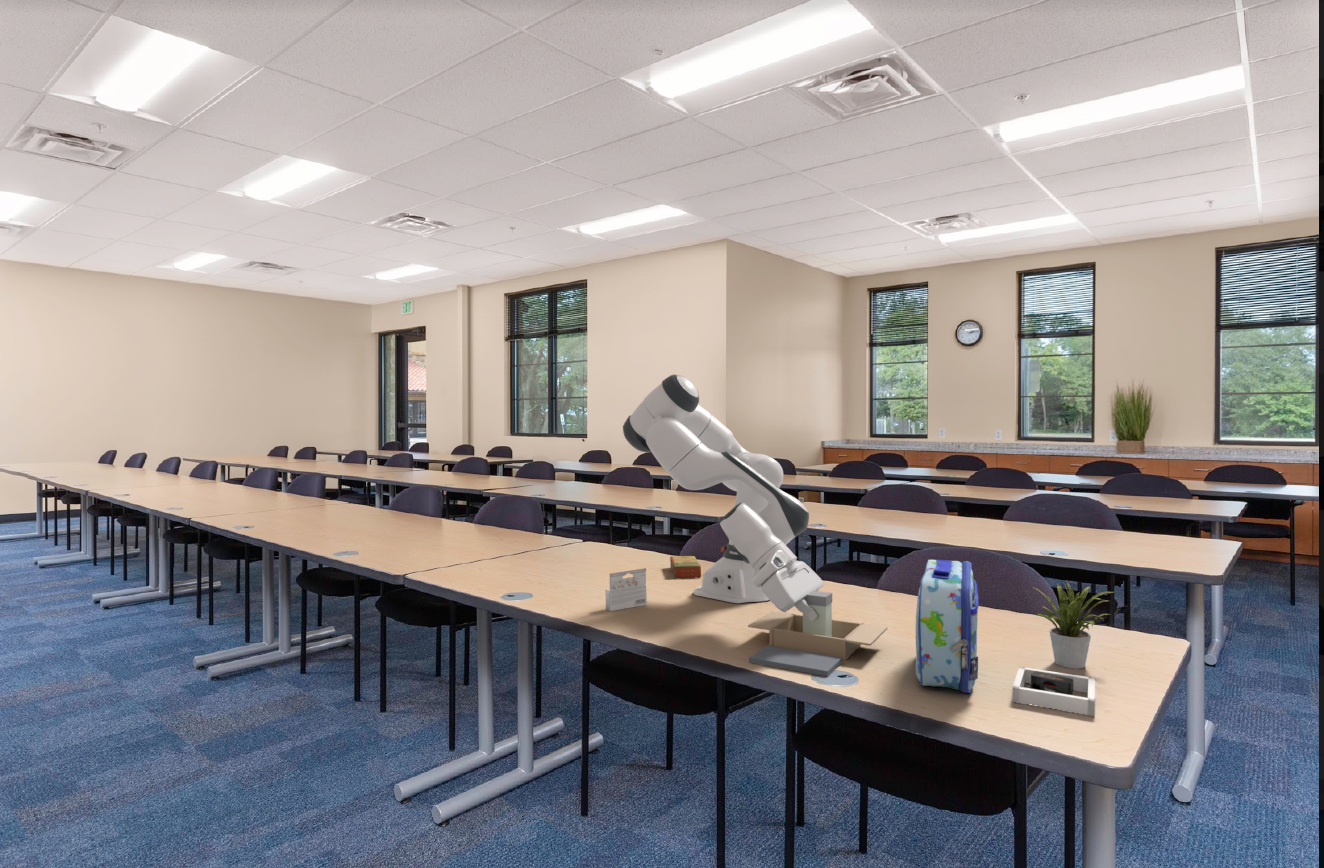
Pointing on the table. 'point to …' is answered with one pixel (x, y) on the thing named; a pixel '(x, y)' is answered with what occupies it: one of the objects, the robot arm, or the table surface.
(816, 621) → the block
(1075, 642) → the house plant
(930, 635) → the lunch box
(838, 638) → the open cardboard box
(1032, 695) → the dish
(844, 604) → the table surface
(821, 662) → the slate mat
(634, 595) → the ink cartridge box
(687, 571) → the carton
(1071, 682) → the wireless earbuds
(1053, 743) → the table surface
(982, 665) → the table surface
